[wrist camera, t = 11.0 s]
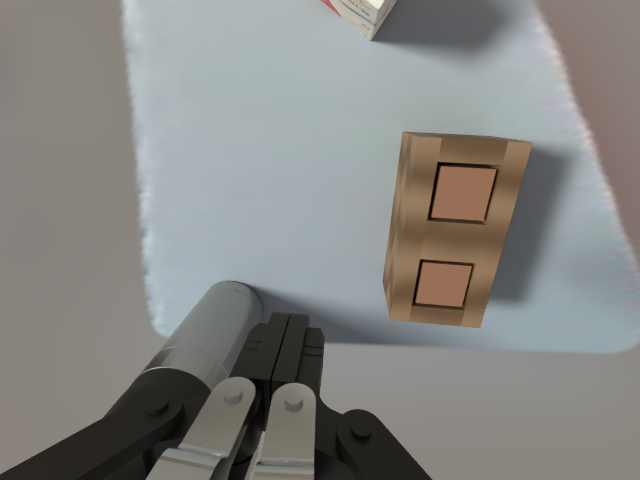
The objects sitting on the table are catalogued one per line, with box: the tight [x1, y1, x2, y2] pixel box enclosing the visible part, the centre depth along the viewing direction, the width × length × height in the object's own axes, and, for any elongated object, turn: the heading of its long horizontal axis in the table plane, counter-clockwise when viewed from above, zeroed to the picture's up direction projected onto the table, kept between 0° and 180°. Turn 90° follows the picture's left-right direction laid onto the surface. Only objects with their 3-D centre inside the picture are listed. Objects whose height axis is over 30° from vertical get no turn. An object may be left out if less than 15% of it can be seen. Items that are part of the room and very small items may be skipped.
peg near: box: [428, 162, 496, 221], centre depth 34 cm, size 5×5×9 cm
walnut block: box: [383, 132, 533, 328], centre depth 36 cm, size 20×10×9 cm, turn 178°
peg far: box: [413, 259, 472, 307], centre depth 38 cm, size 5×5×9 cm
